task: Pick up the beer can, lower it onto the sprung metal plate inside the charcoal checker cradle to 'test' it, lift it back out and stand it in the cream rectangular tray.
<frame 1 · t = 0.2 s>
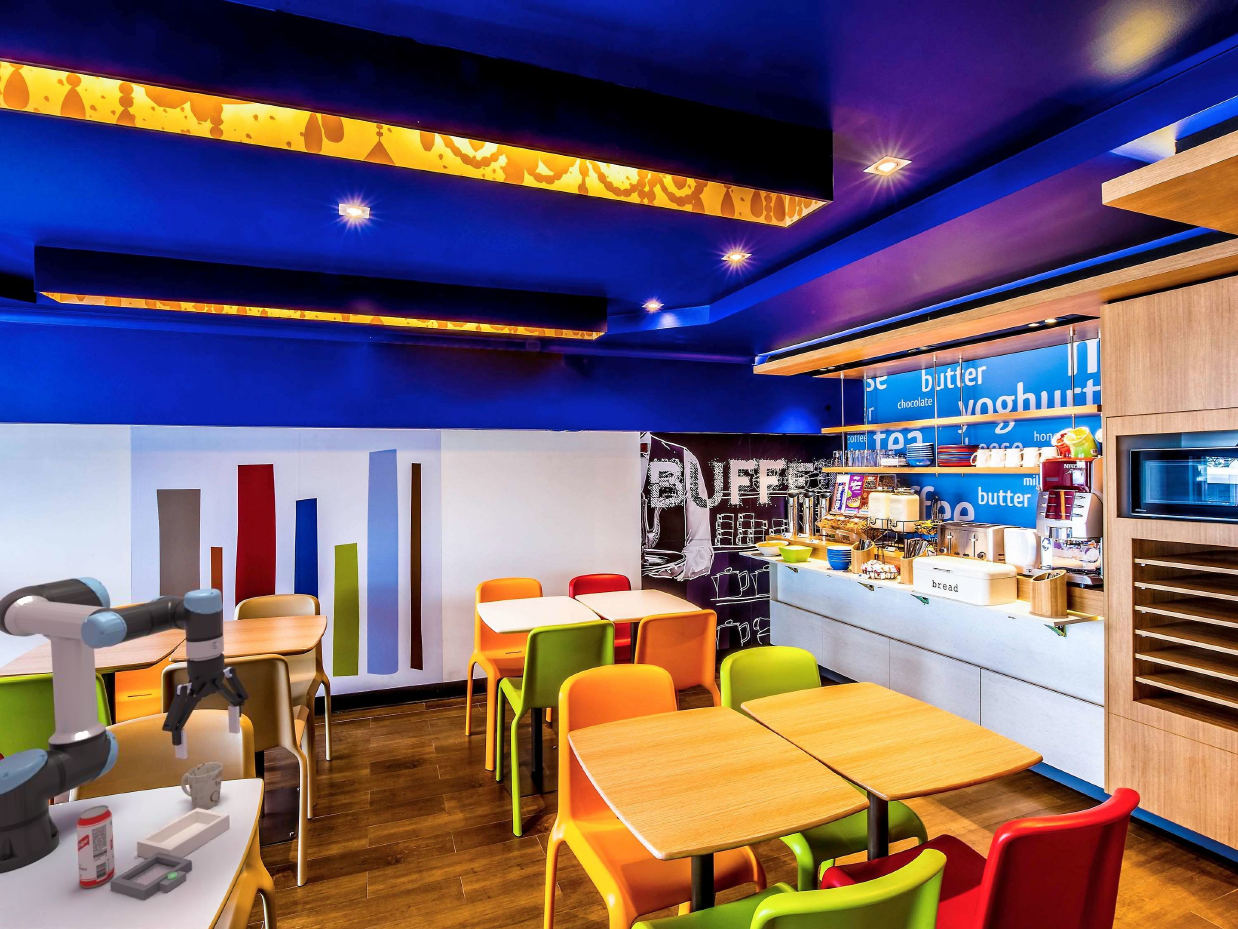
hand: (209, 744, 154), 27 cm above the table, fingers open, 13 cm apart
checker cradle: (152, 880, 147), on the table
checker plate: (152, 877, 147), point 1 cm above the table, slide at -0.9 cm
mug: (200, 805, 179), on the table
cream rectangular tray: (185, 841, 162), on the table
beer can: (97, 881, 147), on the table
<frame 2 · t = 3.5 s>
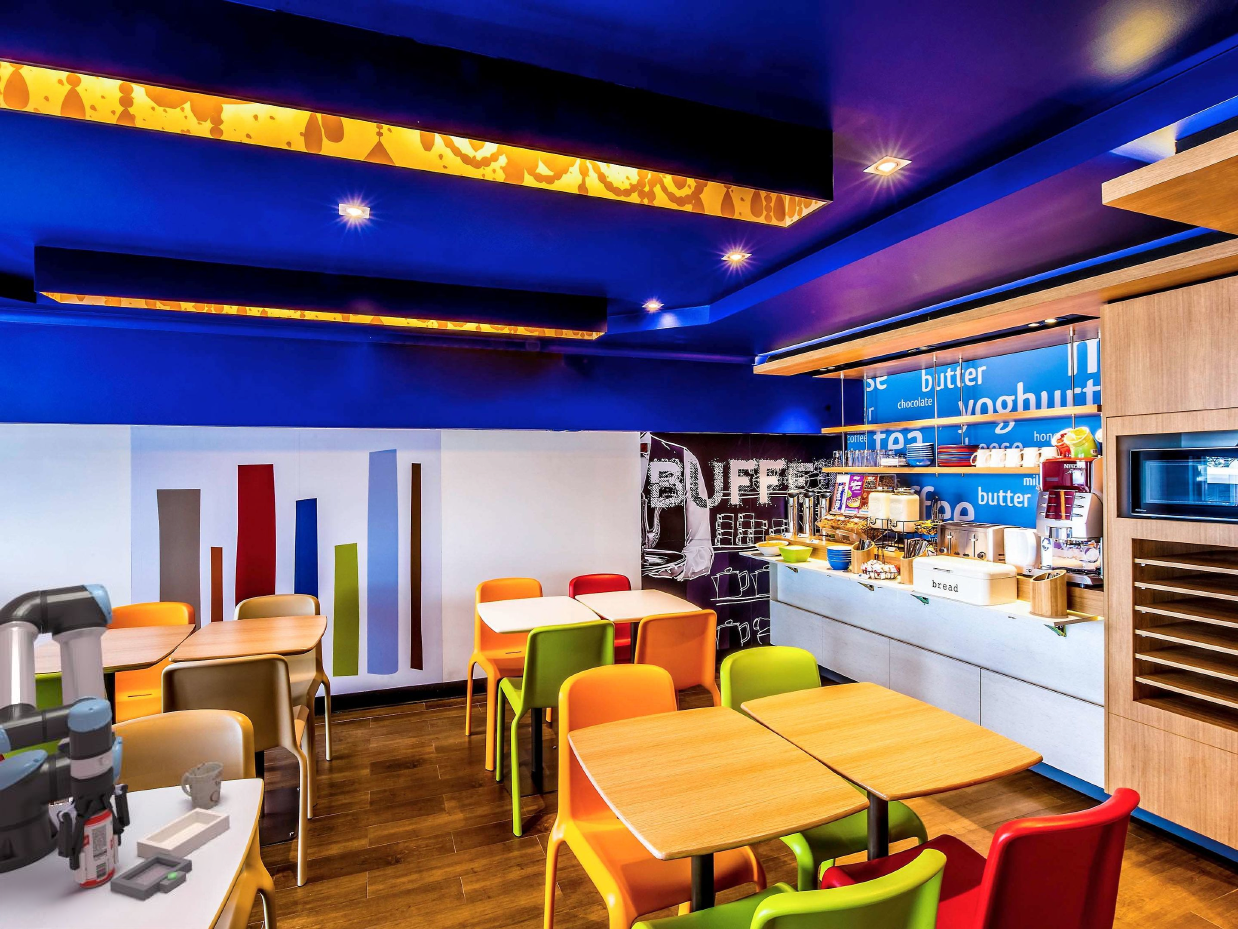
hand: (96, 871, 147), 2 cm above the table, fingers closed on beer can, 6 cm apart
beer can: (97, 881, 147), on the table, touching gripper
everything else where it was.
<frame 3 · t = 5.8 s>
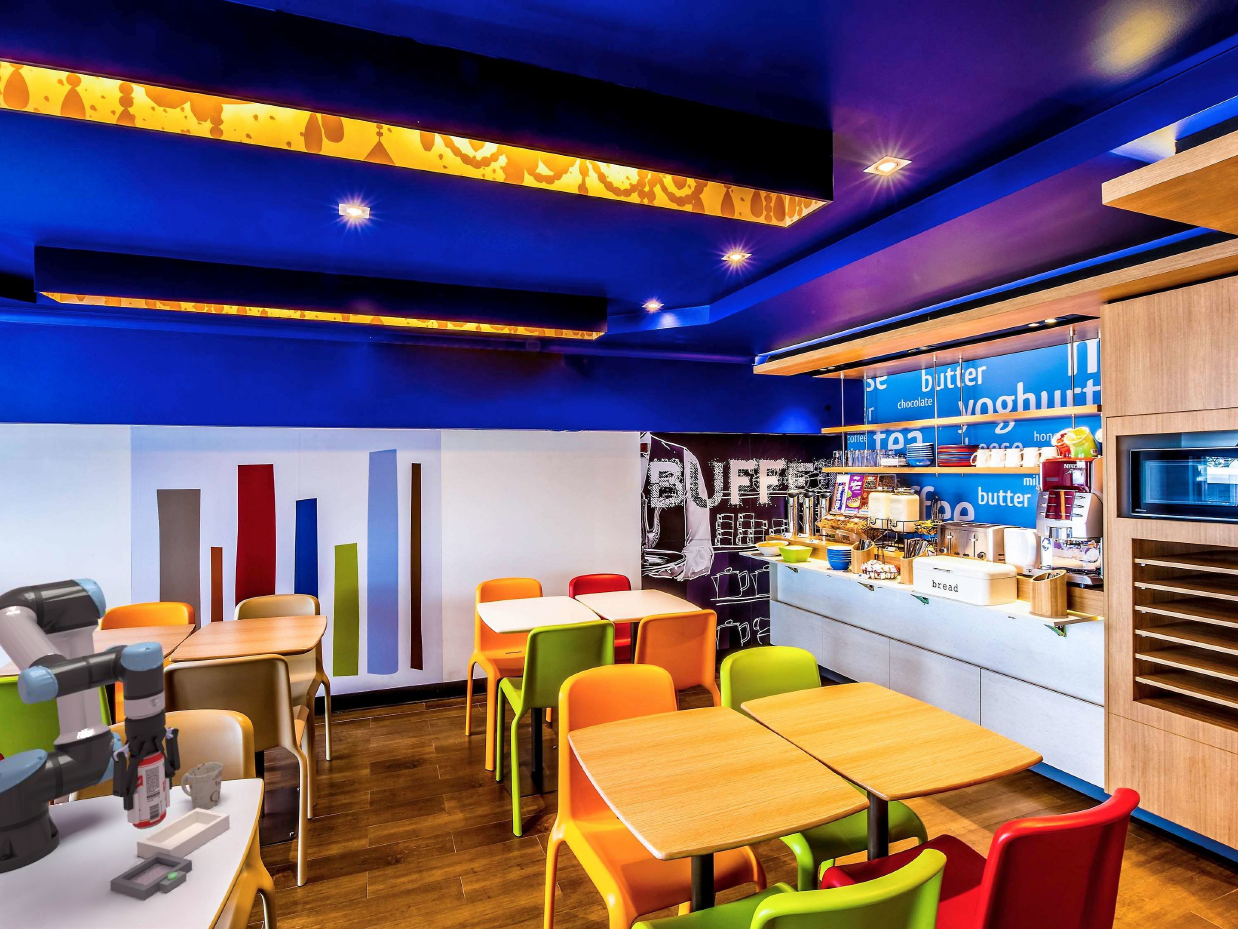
hand: (149, 813, 147), 15 cm above the table, fingers closed on beer can, 6 cm apart
beer can: (149, 824, 147), point 13 cm above the table, touching gripper
everything else where it was.
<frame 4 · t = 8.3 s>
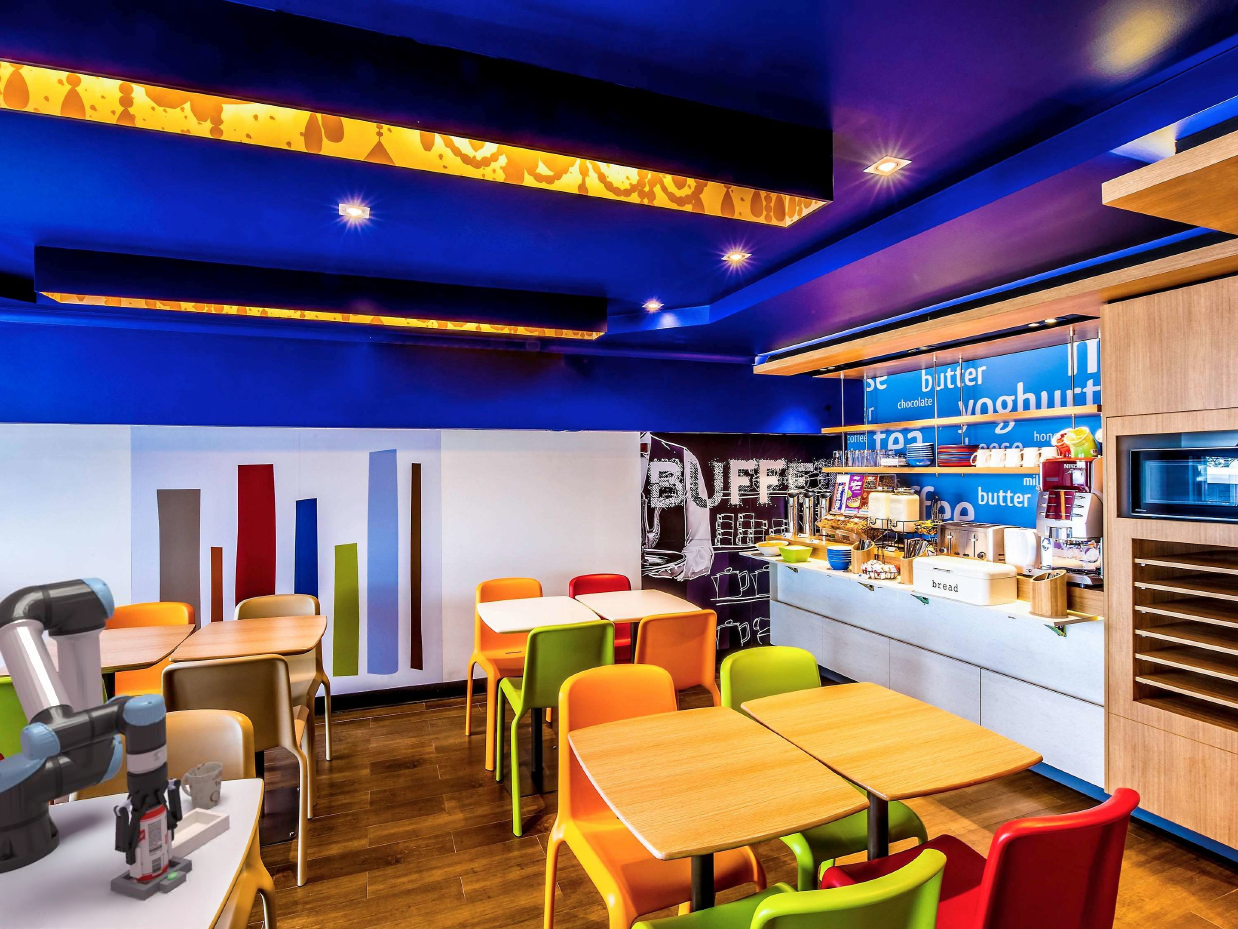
hand: (151, 866, 147), 3 cm above the table, fingers closed on beer can, 6 cm apart
checker plate: (152, 877, 147), point 1 cm above the table, slide at -0.9 cm, touching beer can
beer can: (152, 876, 147), point 1 cm above the table, touching checker plate, gripper
everything else where it was.
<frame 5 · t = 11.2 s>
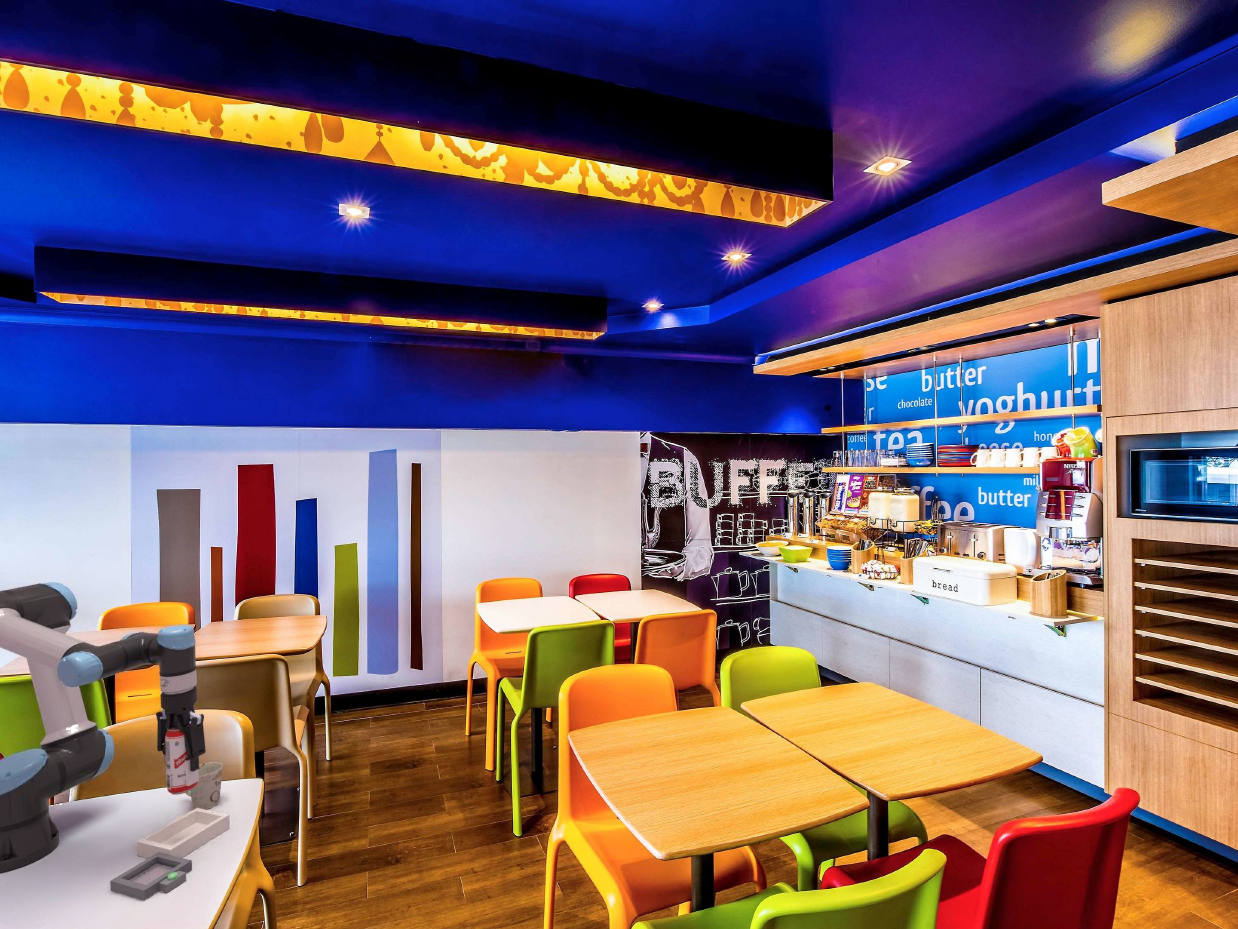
hand: (182, 781, 161), 15 cm above the table, fingers closed on beer can, 6 cm apart
checker plate: (152, 877, 147), point 1 cm above the table, slide at -0.9 cm
beer can: (182, 790, 161), point 13 cm above the table, touching gripper
everything else where it was.
when the fingers open (4 cm above the table, at t = 13.5 s): beer can drops 1 cm, resting on cream rectangular tray.
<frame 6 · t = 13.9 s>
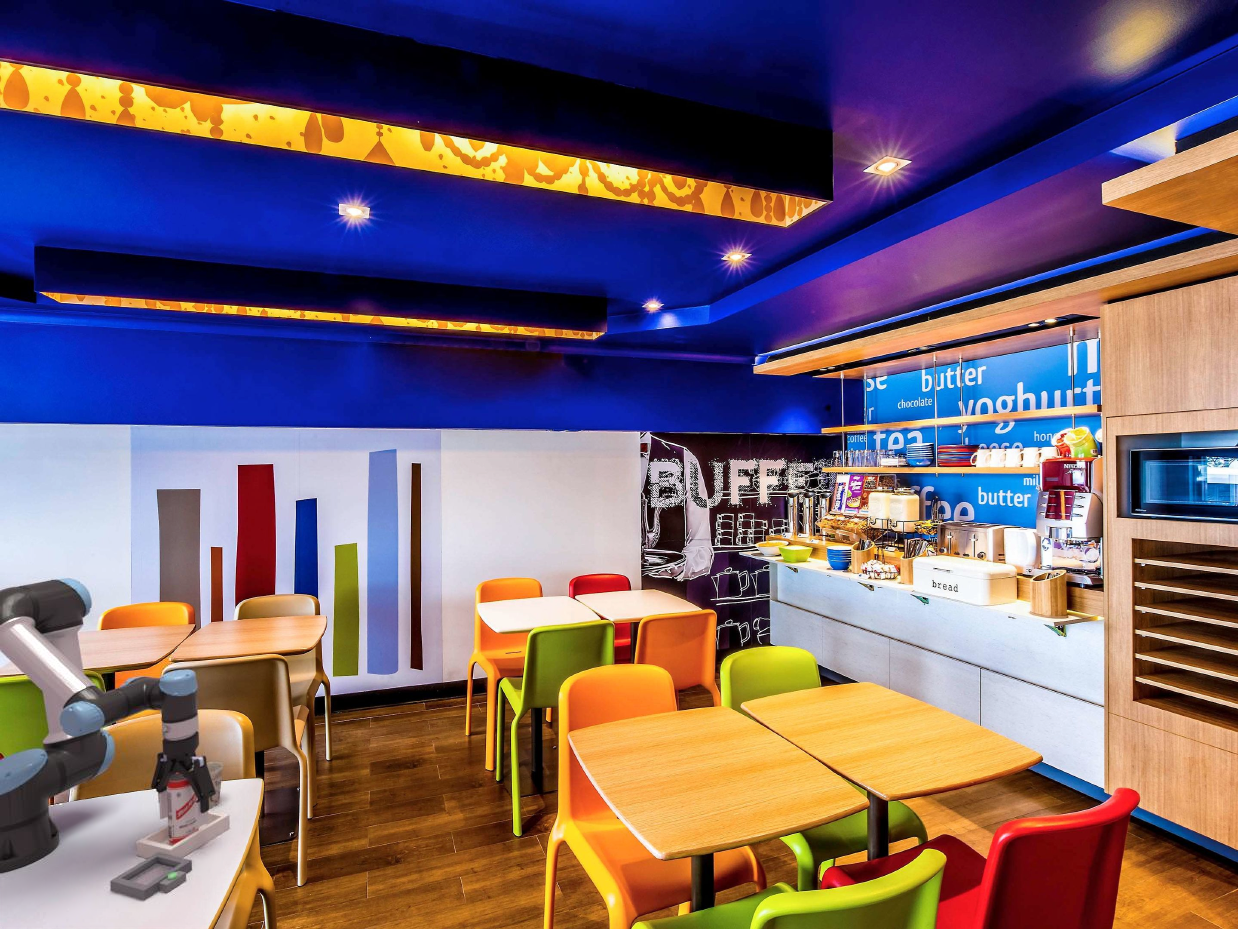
hand: (184, 820, 162), 5 cm above the table, fingers open, 12 cm apart
beer can: (184, 840, 162), resting on cream rectangular tray
everything else where it was.
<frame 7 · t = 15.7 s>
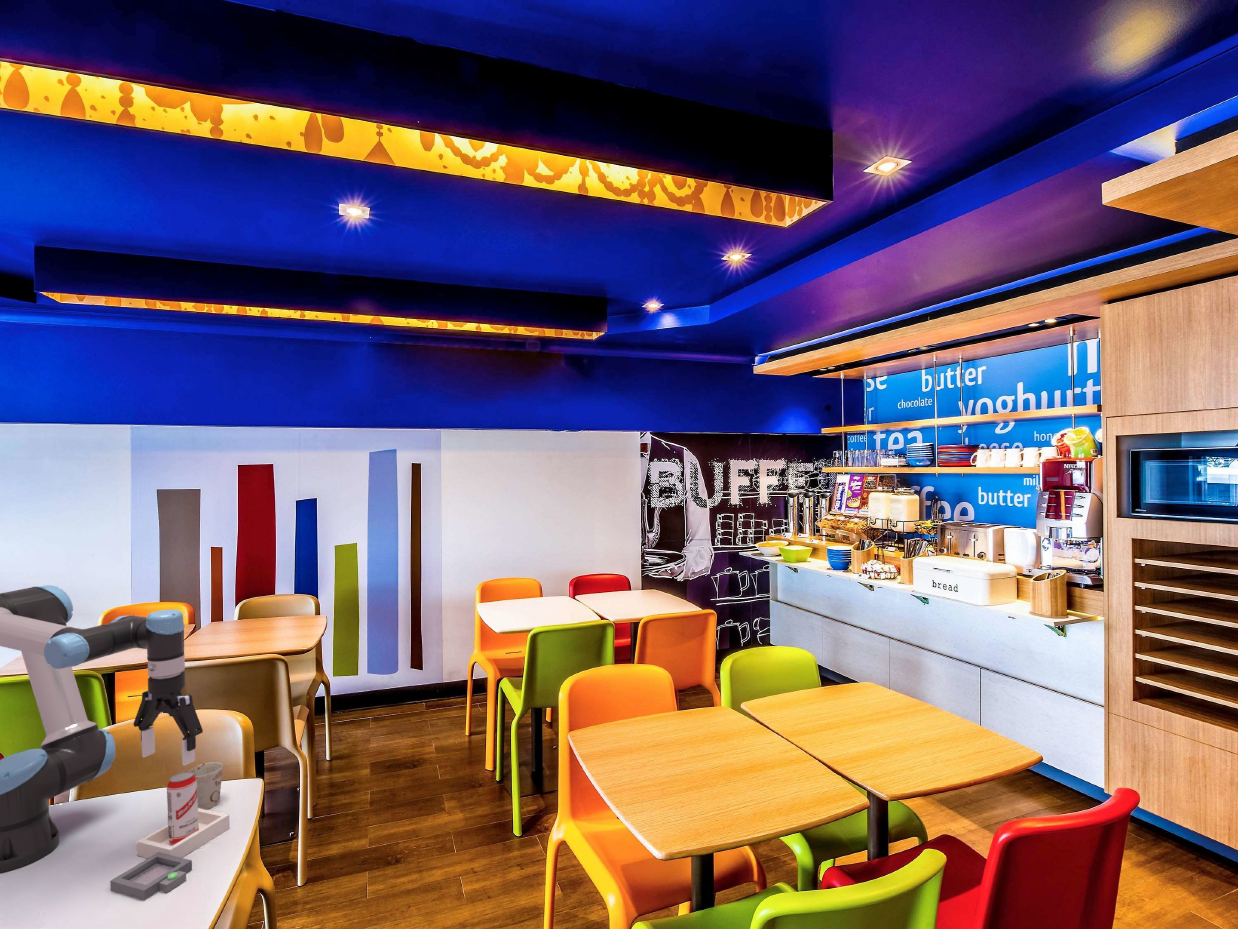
hand: (168, 759, 161), 21 cm above the table, fingers open, 13 cm apart
nothing on the table moved.
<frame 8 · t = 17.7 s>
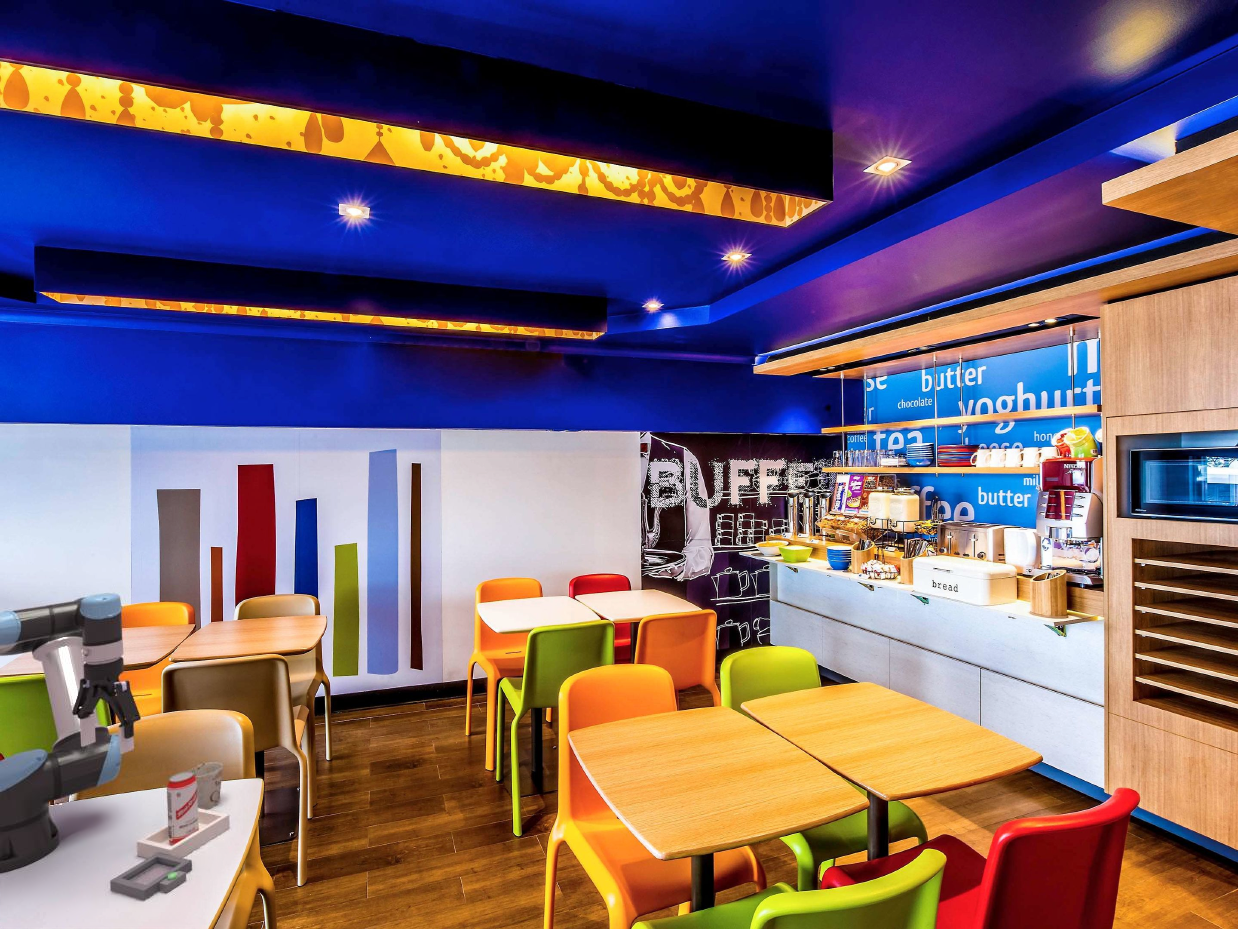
hand: (107, 747, 155), 27 cm above the table, fingers open, 13 cm apart
nothing on the table moved.
at the end: beer can inside the target area on the cream rectangular tray (0.2 cm from its centre), point 0.3 cm above the cream rectangular tray's base; beer can tilted 0°; the gripper is holding nothing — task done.
